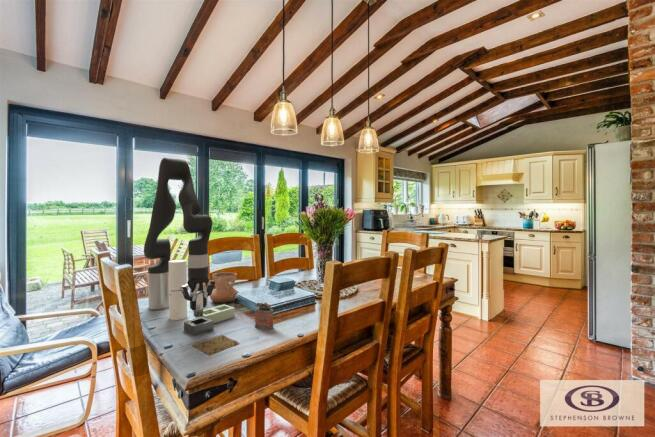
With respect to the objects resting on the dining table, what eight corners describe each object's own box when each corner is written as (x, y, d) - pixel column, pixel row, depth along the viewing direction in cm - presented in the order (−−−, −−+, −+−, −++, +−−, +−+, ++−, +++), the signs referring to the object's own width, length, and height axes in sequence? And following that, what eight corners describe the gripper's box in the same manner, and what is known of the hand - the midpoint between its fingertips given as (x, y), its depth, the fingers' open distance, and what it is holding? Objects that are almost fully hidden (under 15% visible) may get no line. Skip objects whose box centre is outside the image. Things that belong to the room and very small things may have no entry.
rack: (195, 321, 132) (195, 312, 132) (224, 312, 143) (224, 304, 143) (205, 325, 127) (205, 316, 127) (234, 316, 138) (234, 307, 138)
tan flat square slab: (221, 335, 118) (221, 333, 118) (240, 344, 110) (240, 342, 110) (191, 346, 109) (191, 343, 109) (209, 357, 101) (209, 354, 101)
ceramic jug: (244, 302, 160) (244, 274, 160) (217, 307, 150) (216, 278, 150) (230, 295, 173) (230, 269, 173) (204, 299, 164) (204, 273, 164)
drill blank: (191, 315, 122) (191, 292, 122) (200, 312, 125) (200, 290, 125) (196, 317, 120) (196, 294, 120) (205, 314, 123) (205, 292, 122)
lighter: (275, 327, 126) (275, 302, 125) (270, 330, 123) (270, 305, 122) (257, 324, 128) (257, 300, 128) (253, 327, 125) (253, 303, 125)
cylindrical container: (180, 320, 133) (179, 262, 132) (165, 319, 134) (164, 262, 134) (190, 314, 140) (190, 259, 139) (176, 313, 141) (176, 259, 141)
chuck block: (183, 330, 122) (183, 321, 122) (202, 324, 128) (202, 316, 128) (194, 335, 117) (194, 326, 117) (213, 329, 123) (213, 320, 123)
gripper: (209, 261, 130) (209, 302, 130) (175, 266, 119) (175, 311, 119) (219, 264, 125) (219, 306, 126) (185, 269, 114) (185, 315, 115)
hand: (198, 308), depth 122 cm, fingers closed on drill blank, 3 cm apart
